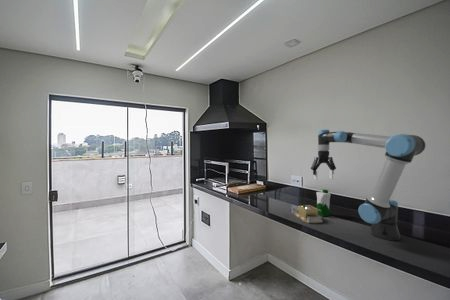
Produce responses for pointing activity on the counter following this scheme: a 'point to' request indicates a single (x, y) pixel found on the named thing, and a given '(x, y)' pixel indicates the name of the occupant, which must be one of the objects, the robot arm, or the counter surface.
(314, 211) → the gold square frame
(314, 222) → the bench plate
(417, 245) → the counter surface
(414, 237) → the counter surface
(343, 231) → the counter surface
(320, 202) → the milk carton
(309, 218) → the grey metal piece
